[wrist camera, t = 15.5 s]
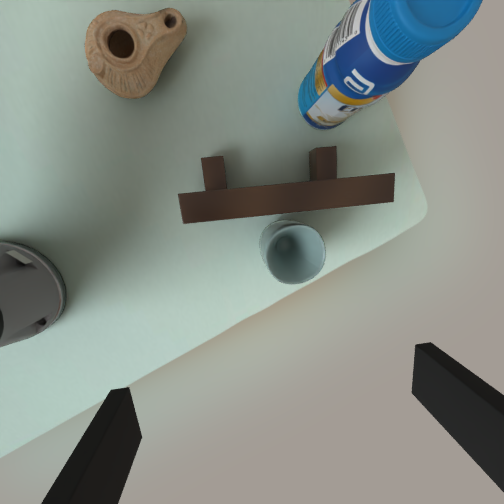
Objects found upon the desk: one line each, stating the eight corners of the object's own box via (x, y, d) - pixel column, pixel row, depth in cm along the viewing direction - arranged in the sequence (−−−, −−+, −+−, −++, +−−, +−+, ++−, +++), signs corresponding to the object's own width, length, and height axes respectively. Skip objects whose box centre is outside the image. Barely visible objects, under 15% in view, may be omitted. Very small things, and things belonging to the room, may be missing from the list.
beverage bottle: (332, 53, 33) (476, -144, 14) (361, 108, 35) (522, 3, 16) (284, 92, 34) (357, -47, 15) (315, 143, 36) (416, 82, 17)
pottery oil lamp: (206, 65, 32) (190, 67, 27) (137, 103, 36) (112, 113, 30) (168, -26, 27) (139, -46, 22) (93, 30, 31) (53, 25, 25)
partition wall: (198, 214, 37) (182, 224, 24) (191, 162, 35) (169, 142, 22) (339, 200, 38) (394, 201, 26) (339, 148, 36) (397, 123, 24)
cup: (307, 256, 40) (331, 275, 30) (262, 269, 40) (273, 292, 30) (297, 211, 38) (320, 216, 28) (250, 224, 38) (257, 233, 28)
